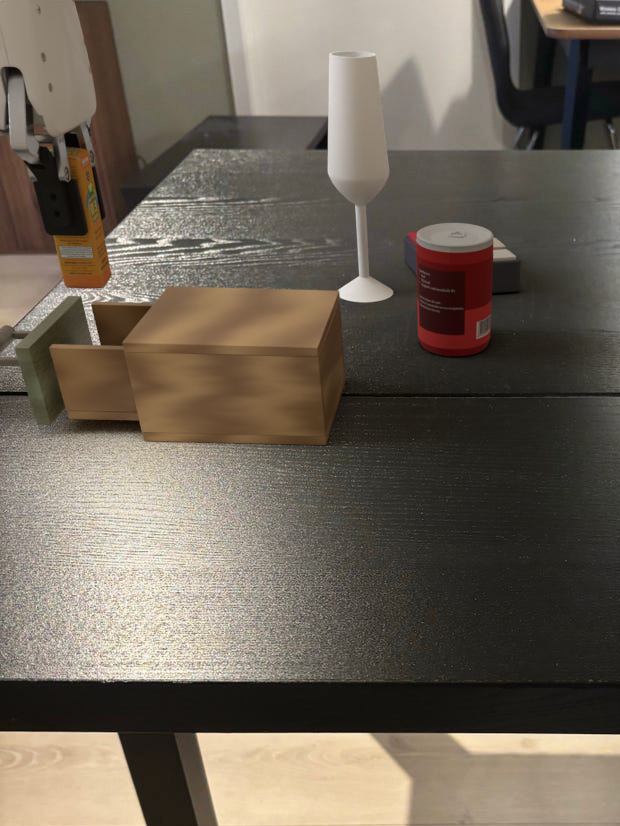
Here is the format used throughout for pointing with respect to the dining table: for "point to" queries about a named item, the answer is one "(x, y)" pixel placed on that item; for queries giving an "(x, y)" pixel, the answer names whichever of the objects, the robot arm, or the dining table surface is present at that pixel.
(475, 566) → the dining table surface
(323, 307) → the cabinet
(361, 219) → the champagne flute
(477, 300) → the canned food
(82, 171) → the supplement box
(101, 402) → the drawer
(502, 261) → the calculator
